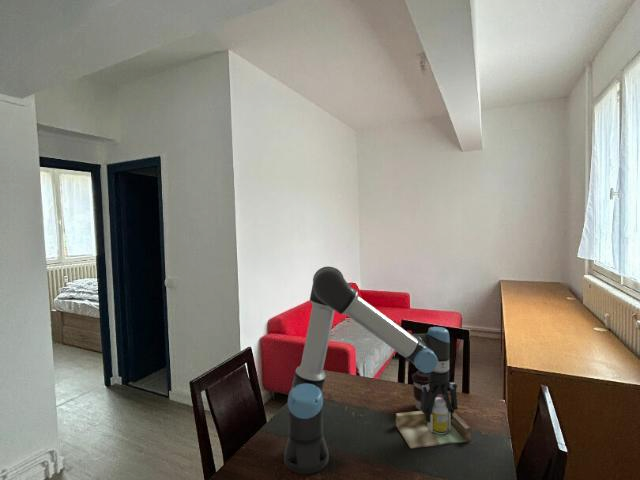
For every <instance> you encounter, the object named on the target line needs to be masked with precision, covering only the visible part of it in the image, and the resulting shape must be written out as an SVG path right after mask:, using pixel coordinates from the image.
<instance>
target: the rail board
mask: <svg viewBox="0 0 640 480" xmlns="http://www.w3.org/2000/svg"><path fill="white" fill-rule="evenodd" d="M395 426H396V428H397V430H398V431H399V433H400V435H401V436H402V437H403V439H404V440H405V442H406V444H407V445H408V447H409V448H410V449H418V448H425V447H436V446H441V445H442V446H443V445H449V444H451V445H452V444H458V443H467V442H471V439H472V438H471V437H472V436H471V432H472V431H471V427H470V426H469V425H468V424H467V422H466V421H465V420H464V419H462V418H461V417H460V416H459V415H458V414H457V413H456V412H455V411H454V413H453V418H452V420H451V430H448V432H447V433H445V434H437V433H435V432H431V431H430V430H429V429H428V422H427V421H426V413H423V412H422V411H421V410H417V411H407V412H406V411H405V412H398V413H395Z"/></svg>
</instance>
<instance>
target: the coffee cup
mask: <svg viewBox="0 0 640 480" xmlns="http://www.w3.org/2000/svg"><path fill="white" fill-rule="evenodd" d="M411 381H412V382H413V385H412V386H413V397H414V404H415V408H416V409H418V411H422V410H421V409H420V408H421V396H422V389H421V385H427V384H428V382H429V377H428V373H423V372H421V371H420V370H417V371H415V373H412V375H411ZM429 395H430V388H428V397H427V401H428V398H429Z"/></svg>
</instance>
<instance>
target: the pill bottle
mask: <svg viewBox="0 0 640 480" xmlns="http://www.w3.org/2000/svg"><path fill="white" fill-rule="evenodd" d="M431 413H432V414H433V432H435V433H437V434H445V433H447V432H448V408H447V406H446V401H445V399H444V398H443V397H438V396H437V397H436V398H435V401H434V405H433V408H432V411H431Z"/></svg>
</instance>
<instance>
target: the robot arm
mask: <svg viewBox="0 0 640 480" xmlns="http://www.w3.org/2000/svg"><path fill="white" fill-rule="evenodd" d="M309 301H310V302H311V305H312V307H311V310H310V311H311V313H310V316H309V317H310V318H309V321H308V326H307V332H306V336H305V342H304V346H303V352H302V358H301V363H300V365H299V366H297V367H296V369H295V371H294V377H293V381H292V383H291V389H290V391H289V392H288V397H287V408H288V412H287V413H288V439H287V442H286V447H285V449H284V452H283V459H284V464H285V467H286V468H287V469H288V470H289V471H291V472H293V473H296V474H299V475H310V474H311V475H312V474H314V473H317V472H320V471H322V470H324V468H325V467H327V465H328V463H329V460H330V459H329V455H330V453H329V449H328V445H327V443H326V440H325V437H324V413H323V409H324V408H323V407H324V406H323V405H324V397H323V393H324V386H325V381H326V377H327V376H326V373H325V371H324V366H325V363H326V362H325V361H326V356H327V351H328V348H329V347H328V346H329V343H330V336H331V331H332V327H333V326H332V325H333V321H334V317H335V312H337V313H338V314H339V315H346V316H347V317H348V318H350V319H352V320H353V321H355V322H356V323H357V324H358V325H360V326H361V327H363V328H364V329H365V330H366V331H368V332H369V333H371V335H374V337H376V338H378V339H379V340H380V341H381V342H383V343H384V344H385V345H387V346H388V347H390V348H391V349H392V350H394V351H396V352H397V354H398V355H400V356H402V357H403V358H404V359H406V360H408V361H409V362H410V363H412V364H413V365H414V367H415V368H416V369H417V371H421V372H423V373H428V377H429V382H428V384H427V385H421V389H422V396H421V408H420V409H421V410H422V412H423V413H426V421H427V422H428V429H429V430H430V431H431V432H433V414H432V413H431V411H432V408H433V405H434V401H435V398H436V397H438V396H439V395H442V398H443V399H445V401H446V405H445V406H446V407H447V408H448V430H451V420H452V418H453V413H454V412H455V411H458V408H459V407H458V399H457V388H458V385H457V384H456V383H455V382H454V381H451V382H450V344H451V341H450V333H449V330H448V329H446V328H445V327H441V326H433V327H432V326H431V327H429V328H428V331H427V333H409V332H408V331H407V330H405V329H404V328H403V327H401V326H400V325H398V323H396V322H394V321H393V320H392V319H391V318H389V317H388V316H387V315H385V314H384V313H382V312H381V311H380V310H378V309H377V308H376V307H374V305H372V304H371V303H369V302H367V301H366V300H364V299H363V298H362V297H360V296H359V292H358V290H356V289H355V288H353V286H351V285H350V283H348V281H346V279H345V277H344V275H343V273H342V271H341V270H339V269H338V268H336V267H334V266H324V267H321V268H319V269H317V271H316V272H315V273H314V275H313V277H312V286H311V292H310V297H309ZM428 388H430V395H429V398H428V401H427V397H428ZM448 389H449V393H448ZM449 394H450V395H449ZM449 396H450V398H449ZM421 410H420V411H421Z"/></svg>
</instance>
